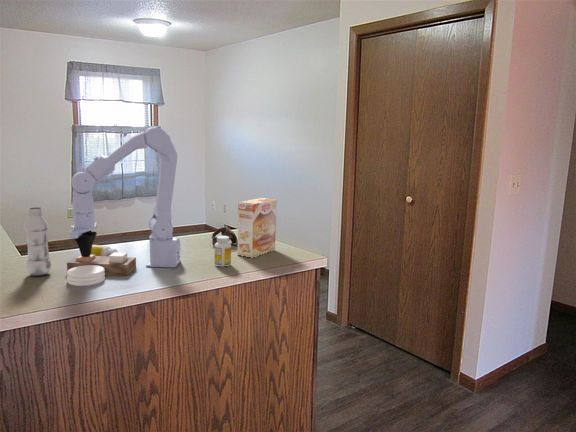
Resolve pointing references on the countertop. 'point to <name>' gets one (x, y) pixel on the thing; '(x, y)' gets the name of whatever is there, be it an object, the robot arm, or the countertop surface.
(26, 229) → the plastic bottle
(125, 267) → the switch box
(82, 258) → the key terracotta
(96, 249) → the supplement bottle
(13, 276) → the countertop surface
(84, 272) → the coaster
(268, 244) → the coffeecake box
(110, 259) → the key offwhite
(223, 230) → the dark brown tangled clump
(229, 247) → the supplement bottle
